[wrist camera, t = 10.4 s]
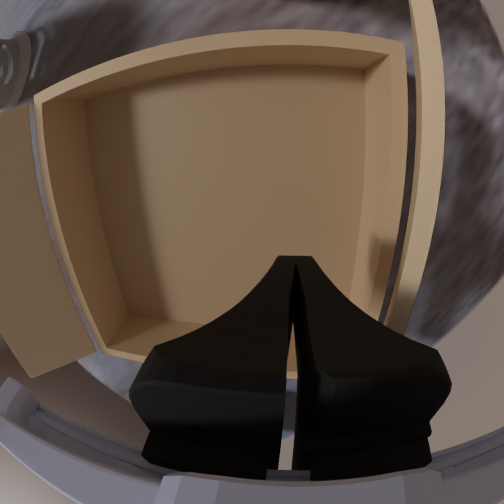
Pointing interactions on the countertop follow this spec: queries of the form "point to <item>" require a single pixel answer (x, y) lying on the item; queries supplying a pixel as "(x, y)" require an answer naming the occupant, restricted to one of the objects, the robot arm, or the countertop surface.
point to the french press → (13, 68)
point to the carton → (223, 175)
